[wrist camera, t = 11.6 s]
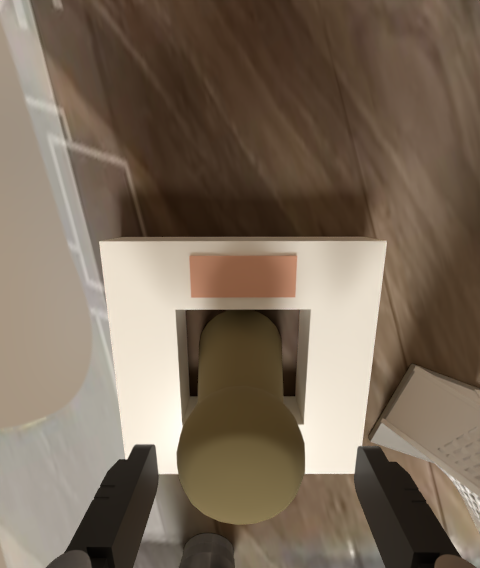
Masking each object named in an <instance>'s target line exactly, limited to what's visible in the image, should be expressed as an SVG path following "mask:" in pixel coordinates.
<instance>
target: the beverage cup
mask: <svg viewBox="0 0 480 568" xmlns="http://www.w3.org/2000/svg"><path fill="white" fill-rule="evenodd" d="M179 568H235V564H234V549H233V547H232V544H231V543H230V542H229V541H228V540H227V539H226V538H224V537H222V536H220V535H217V534H213V533H204V534H200V535H196V536H194V537H193V538H191V539H190V540H189V541H188V542H187V543H186V545H185V547H184V551H183V556H182V559H181V563H180V566H179Z"/></svg>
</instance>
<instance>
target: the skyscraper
mask: <svg viewBox="0 0 480 568" xmlns="http://www.w3.org/2000/svg"><path fill="white" fill-rule="evenodd" d="M368 438H369V440H370V442H373V443H376V444H379V445H382V446H384V447H387V448H390V449H393V450H396V451H399V452H402V453H405V454H408V455H411V456H414V457H417V458H420V459H423V460H426V461H429V462H432V463H435V464H436V465H437V466H438V467H439V468H440V469H441V470H442V471H443V472H444V473H445V474H446V475H447V476H448V477H449V478H450V479H451V480H452V482H453V483H454V485H455V486H456V488H457V489H458V491H459V493H460V495H461V496H462V498H463V500H464V502H465V504H466V506H467V509H468V511H469V513H470V515H471V517H472V519H473V521H474V523H475V525H476V527H477V529H478V532H479V534H480V388H477V387H474V386H471V385H469V384H466V383H463V382H461V381H458V380H455V379H453V378H450V377H447V376H444V375H442V374H439V373H436V372H434V371H431V370H428V369H425V368H423V367H420V366H417V365H415V364H411V365H410V367H409V369H408V370H407V372H406V374H405V376H404V377H403V379H402V381H401V382H400V384H399V386H398V387H397V389H396V391H395V392H394V394H393V396H392V398H391V399H390V401H389V403H388V404H387V406H386V408H385V409H384V411H383V413H382V414H381V416H380V418H379V420H378V421H377V423H376V425H375V426H374V428H373V430H372V431H371V433H370V435H369V436H368Z"/></svg>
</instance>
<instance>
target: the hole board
mask: <svg viewBox="0 0 480 568" xmlns="http://www.w3.org/2000/svg"><path fill="white" fill-rule="evenodd" d="M99 243H100V252H101V260H102V268H103V277H104V285H105V293H106V302H107V310H108V318H109V327H110V335H111V343H112V351H113V360H114V368H115V376H116V385H117V393H118V401H119V410H120V418H121V426H122V434H123V443H124V451H125V459H128V457H129V455H130V453H131V451H132V448H133V447H134V445H136V444H154V445H155V447H156V455H157V465H158V474H178V469H177V455H176V452H177V448H178V443H179V438H180V434H181V431H182V427H183V425H184V423H185V422H186V420H187V419H188V417H189V416H190V414H191V412H192V411H193V409H194V408H195V406H196V405H197V403H198V396H190V388H189V369H188V349H187V329H186V310H242V309H300V313H299V332H298V351H297V370H296V389H295V396H283V400H284V404H285V405H286V406H287V407H288V409H289V410H290V411H291V413H292V414H293V416H294V417H295V419H296V421H297V424H298V426H299V428H300V431H301V433H302V436H303V440H304V443H305V473H304V474H355V465H356V456H357V448H358V446H362V441H363V432H364V424H365V416H366V408H367V400H368V392H369V384H370V376H371V368H372V359H373V351H374V343H375V335H376V327H377V319H378V311H379V303H380V295H381V287H382V278H383V270H384V262H385V254H386V246H387V241H384V240H379V239H374V238H369V237H119V238H114V239H109V240H104V241H99Z"/></svg>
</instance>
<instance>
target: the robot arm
mask: <svg viewBox="0 0 480 568" xmlns="http://www.w3.org/2000/svg"><path fill="white" fill-rule="evenodd" d="M354 483H355V489H356V493H357V496H358V499H359V501H360V504H361V506H362V509H363V511H364V514H365V517H366V519H367V522H368V524H369V527H370V529H371V532H372V534H373V537H374V539H375V542H376V545H377V547H378V550H379V552H380V555H381V557H382V560H383V562H384V565H385V568H476V567H475V566H474V565H472V564H471V563H469V562H468V561H466V560H464V559H463V558H462V557H461V556H460V555H459V553H458V552H457V550H456V548H455V547H454V545H453V544H452V542H451V540H450V539H449V537H448V536H447V534H446V532H445V531H444V529H443V528H442V526H441V524H440V523H439V521H438V519H437V518H436V516H435V515H434V513H433V511H432V510H431V508H430V507H429V505H428V504H427V503H426V500H425V499H424V497H423V495H422V494H421V492H419V490H418V487H417V486H416V484H415V482H414V481H413V479H412V478H411V476H410V474H409V473H408V472H406V471H405V470H404V469H403V468H402V467H401V466H400V465H399V464H398V463H397V462H389V461H388V460H387V458H386V456H385V454H384V453H383V451H382V449H381V448H380V447H379V446H358V448H357V456H356V465H355V474H354ZM157 487H158V465H157V455H156V447H155V445H154V444H136V445H134V447H133V448H132V451H131V453H130V455H129V457H128V459H119V460H118V461H117V462H116V463H115V464H114V465H113V466H112V467H111V468H110V470H109V471H108V472H107V474H106V476H105V477H104V479H103V481H102V483H101V485H100V488H99V489H98V491H97V493H96V495H95V497H94V500H92V502H91V504H90V506H89V508H88V510H87V512H86V514H85V516H84V518H83V519H82V521H81V523H80V525H79V527H78V529H77V531H76V533H75V535H74V537H73V538H72V540H71V542H70V544H69V546H68V548H67V549H66V551H65V552H64V554H62V555H60V556H59V557H57V558H56V559H54V560H53V561H52V562H51V563H50V564H49V565H48V566H47V567H46V568H133V566H134V562H135V559H136V556H137V553H138V550H139V546H140V543H141V540H142V537H143V534H144V530H145V527H146V524H147V521H148V518H149V514H150V511H151V508H152V505H153V502H154V499H155V495H156V492H157Z"/></svg>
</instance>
